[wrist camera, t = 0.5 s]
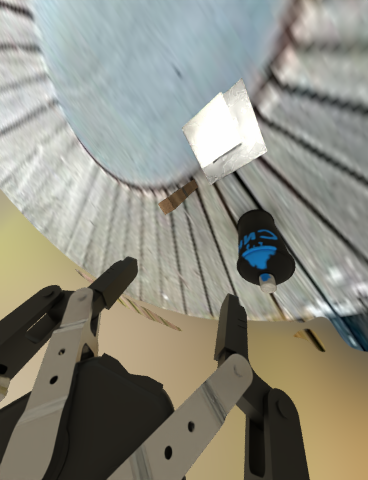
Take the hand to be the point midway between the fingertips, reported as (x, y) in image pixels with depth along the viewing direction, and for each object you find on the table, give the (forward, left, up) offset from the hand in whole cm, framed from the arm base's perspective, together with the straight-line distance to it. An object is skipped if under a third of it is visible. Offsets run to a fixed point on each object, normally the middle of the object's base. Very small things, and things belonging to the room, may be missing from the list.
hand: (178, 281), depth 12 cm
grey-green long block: (-6, -9, -27) cm, 29 cm away
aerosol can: (-5, +11, -28) cm, 31 cm away
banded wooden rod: (+4, -5, -28) cm, 29 cm away
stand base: (-6, -9, -28) cm, 30 cm away
